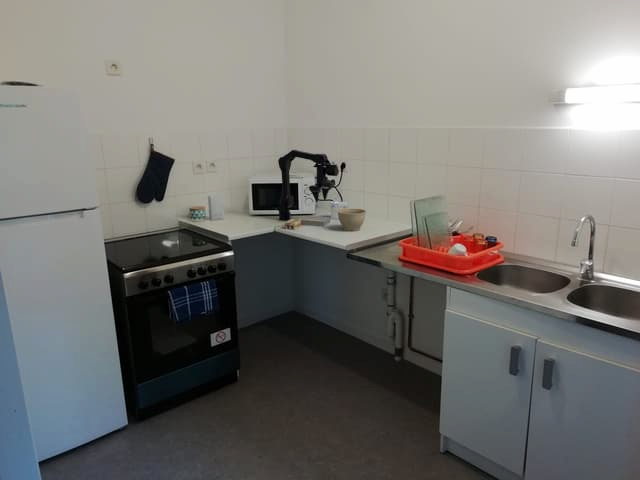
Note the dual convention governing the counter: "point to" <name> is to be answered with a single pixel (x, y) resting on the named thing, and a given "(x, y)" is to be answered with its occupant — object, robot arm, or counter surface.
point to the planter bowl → (351, 218)
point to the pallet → (293, 224)
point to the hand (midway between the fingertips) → (321, 200)
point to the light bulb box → (337, 208)
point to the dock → (315, 221)
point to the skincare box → (215, 207)
